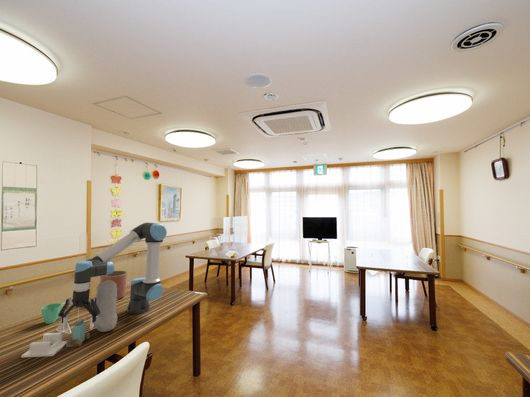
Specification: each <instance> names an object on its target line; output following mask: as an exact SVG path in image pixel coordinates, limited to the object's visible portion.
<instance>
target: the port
mask: <svg viewBox="0 0 530 397" xmlns="http://www.w3.org/2000/svg"><path fill="white" fill-rule="evenodd" d="M67 341H68V340H63V332H46V333H44V334H43V337H42V341H33V342H31V343H30V344H29V349H28V350H27V351H26V352H24V353H23V354H22V355H21V356H20V357H21V358H41V357H53V356H55V355H56V354H57V353H58V352H59V351H60V350H62V349H63V348H64V347H66V343H67Z"/></svg>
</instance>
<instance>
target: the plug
mask: <svg viewBox="0 0 530 397" xmlns="http://www.w3.org/2000/svg"><path fill="white" fill-rule="evenodd" d="M86 324H87V323H86V321H85V319H84V318H79V319H77V320H76V321H75V322H74V325H73V326H72V334H71V335H72V338H71V340H82V343H83V342H84V341H85V340H86V339H85V333H86Z"/></svg>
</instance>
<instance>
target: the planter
mask: <svg viewBox="0 0 530 397" xmlns="http://www.w3.org/2000/svg"><path fill="white" fill-rule="evenodd" d="M106 280H112V281H114V282H115V283H116V285H117V301H119V300H120V299H121V298H123V297H125V296H126V289H127V281H128V271H126V270H118V269H117V270H114V271H113V273H111V274H108V275H102V276H99V284H100V283H102V282H104V281H106Z"/></svg>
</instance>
